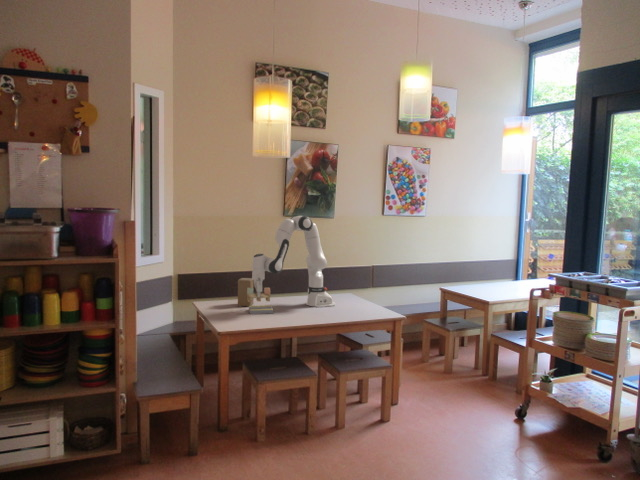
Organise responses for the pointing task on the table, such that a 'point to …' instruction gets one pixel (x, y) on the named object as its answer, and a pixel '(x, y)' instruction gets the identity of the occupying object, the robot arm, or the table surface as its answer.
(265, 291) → the cargo
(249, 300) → the pallet
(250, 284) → the wooden block
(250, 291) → the cargo
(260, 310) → the dock
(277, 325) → the table surface
